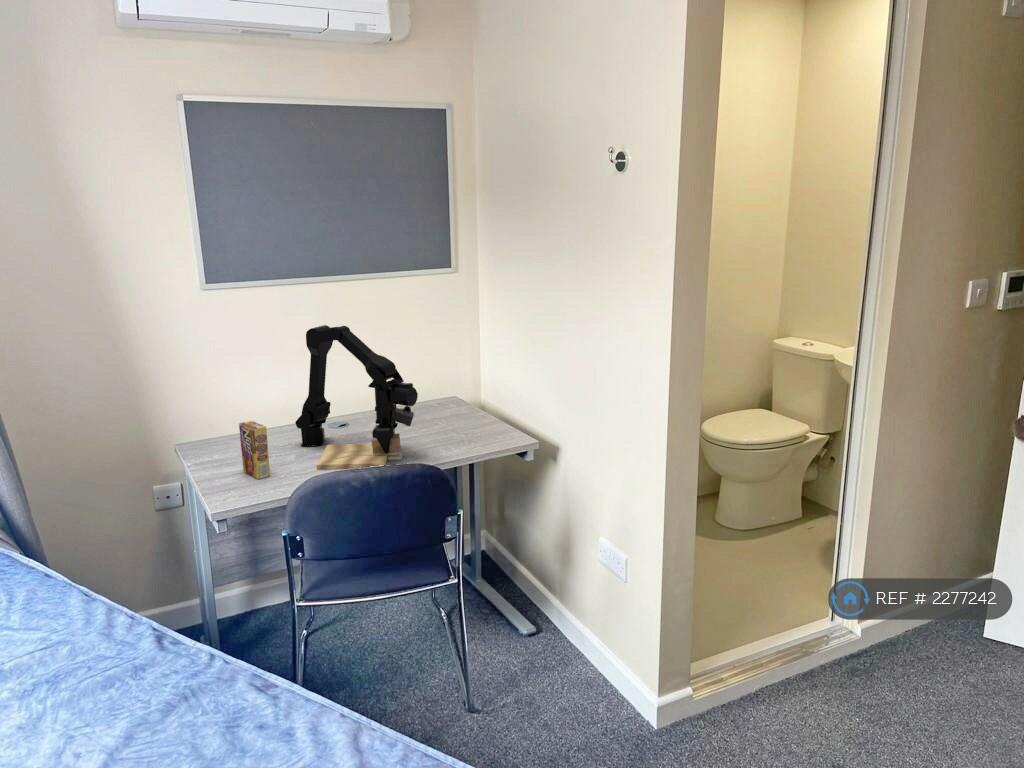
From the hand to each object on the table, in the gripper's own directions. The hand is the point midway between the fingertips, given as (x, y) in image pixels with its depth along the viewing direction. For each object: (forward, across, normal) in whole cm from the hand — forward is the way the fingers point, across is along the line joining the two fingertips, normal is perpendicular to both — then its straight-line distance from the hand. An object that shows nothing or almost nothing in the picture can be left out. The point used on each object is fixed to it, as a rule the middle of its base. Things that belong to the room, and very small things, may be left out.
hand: (387, 450), depth 232 cm
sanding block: (+1, 0, 0) cm, 1 cm away
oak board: (+2, 0, +10) cm, 10 cm away
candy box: (+2, -11, +37) cm, 39 cm away
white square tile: (+3, 0, -2) cm, 4 cm away
